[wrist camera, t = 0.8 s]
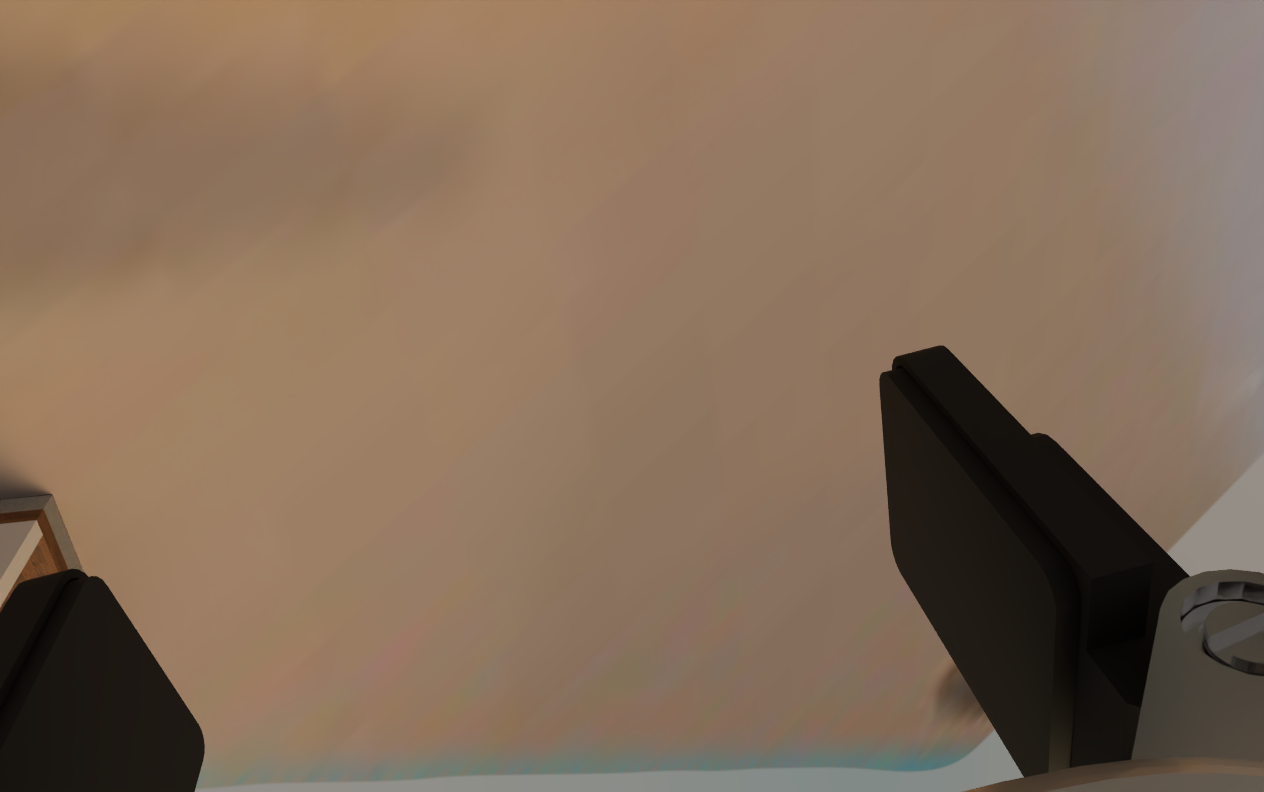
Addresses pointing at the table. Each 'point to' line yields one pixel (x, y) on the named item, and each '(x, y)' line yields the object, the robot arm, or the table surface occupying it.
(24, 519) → the display case
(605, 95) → the table surface
